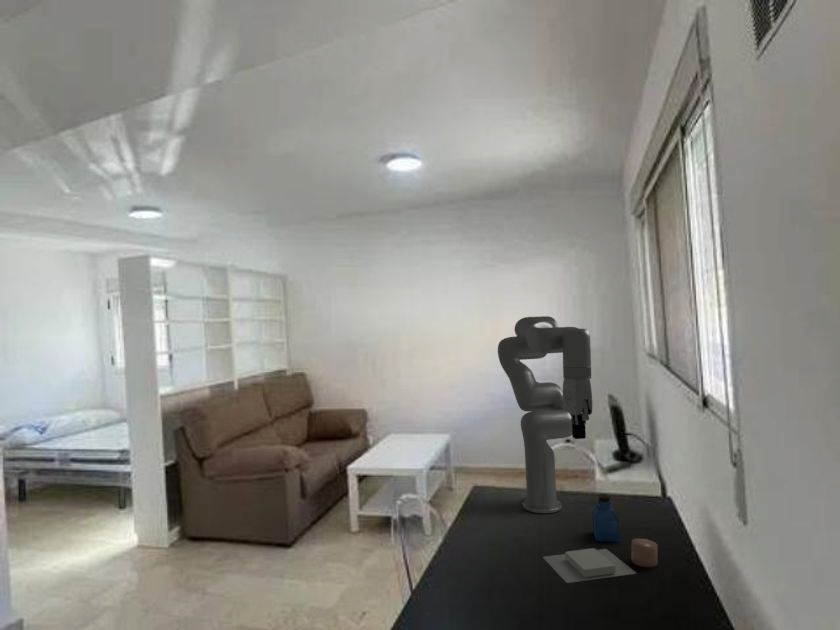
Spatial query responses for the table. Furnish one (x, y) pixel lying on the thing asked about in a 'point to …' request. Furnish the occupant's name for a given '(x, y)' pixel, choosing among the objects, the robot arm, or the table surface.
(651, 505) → the table surface
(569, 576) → the mat
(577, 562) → the tile
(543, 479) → the robot arm
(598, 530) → the perfume bottle
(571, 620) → the table surface
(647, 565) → the brown rounded cylinder
